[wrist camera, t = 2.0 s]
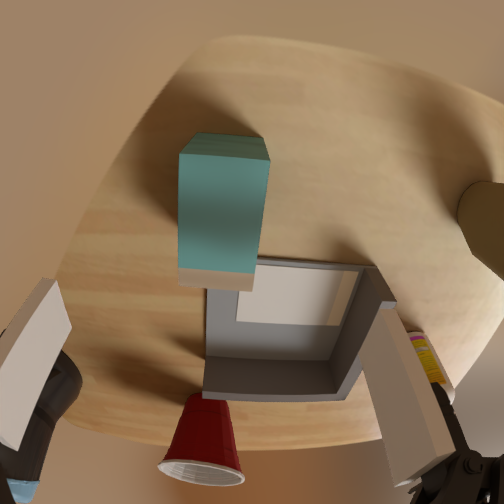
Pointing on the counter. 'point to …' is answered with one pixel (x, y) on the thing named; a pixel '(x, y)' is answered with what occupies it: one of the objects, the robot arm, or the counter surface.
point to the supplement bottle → (431, 363)
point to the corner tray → (291, 331)
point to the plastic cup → (204, 445)
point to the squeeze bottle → (484, 223)
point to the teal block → (221, 210)
